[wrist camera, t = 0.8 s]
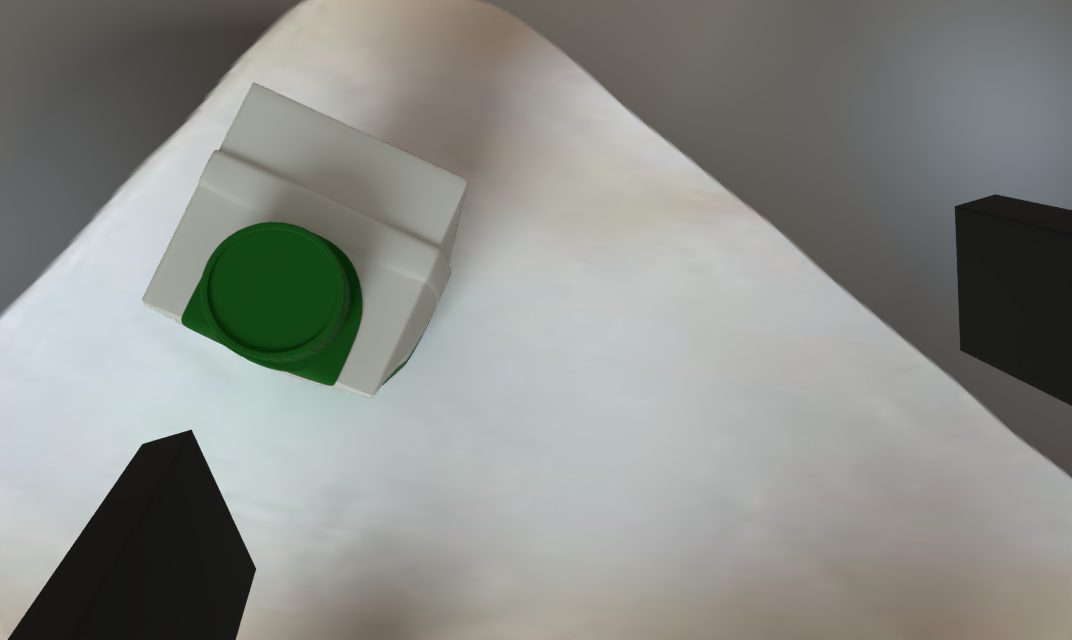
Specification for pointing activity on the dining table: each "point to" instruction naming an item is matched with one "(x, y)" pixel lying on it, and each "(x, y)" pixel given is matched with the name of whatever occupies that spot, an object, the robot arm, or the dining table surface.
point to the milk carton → (311, 247)
